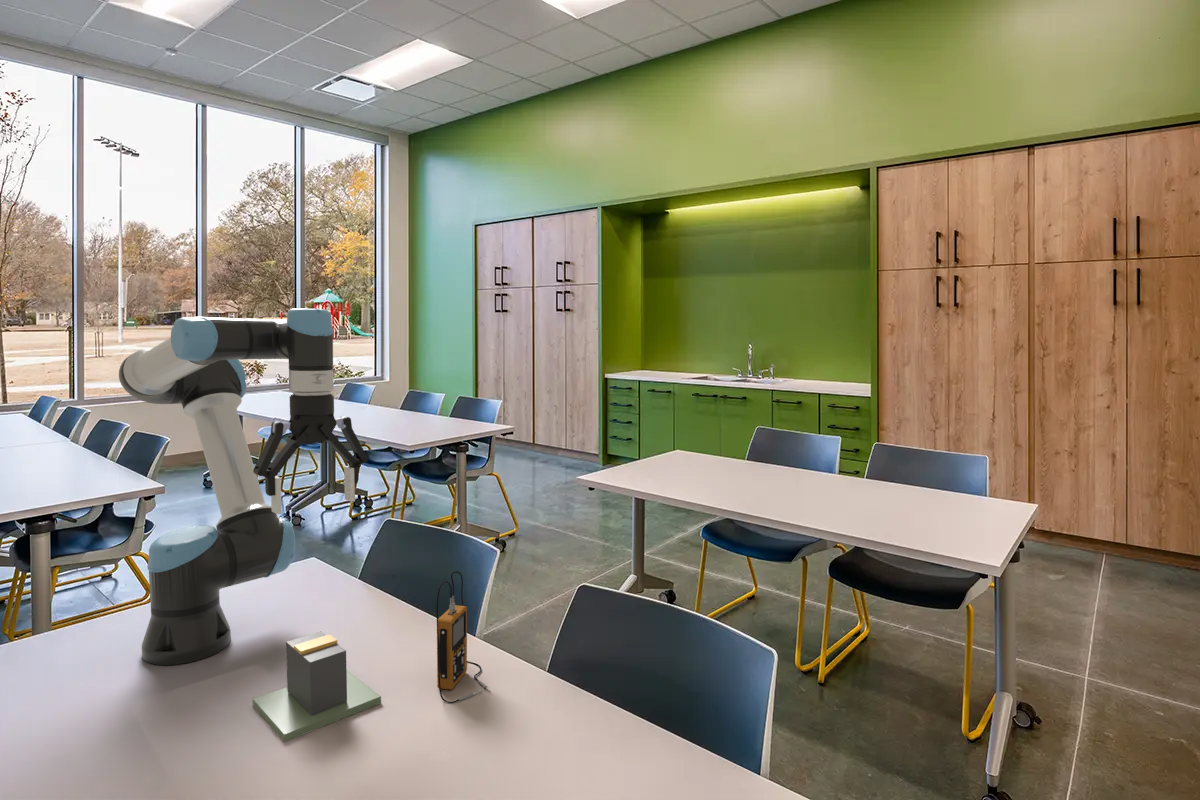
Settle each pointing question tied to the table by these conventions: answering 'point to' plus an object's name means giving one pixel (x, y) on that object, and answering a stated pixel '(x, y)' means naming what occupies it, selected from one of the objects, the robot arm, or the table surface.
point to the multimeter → (452, 645)
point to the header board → (297, 721)
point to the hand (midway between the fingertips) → (314, 506)
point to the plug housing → (316, 672)
